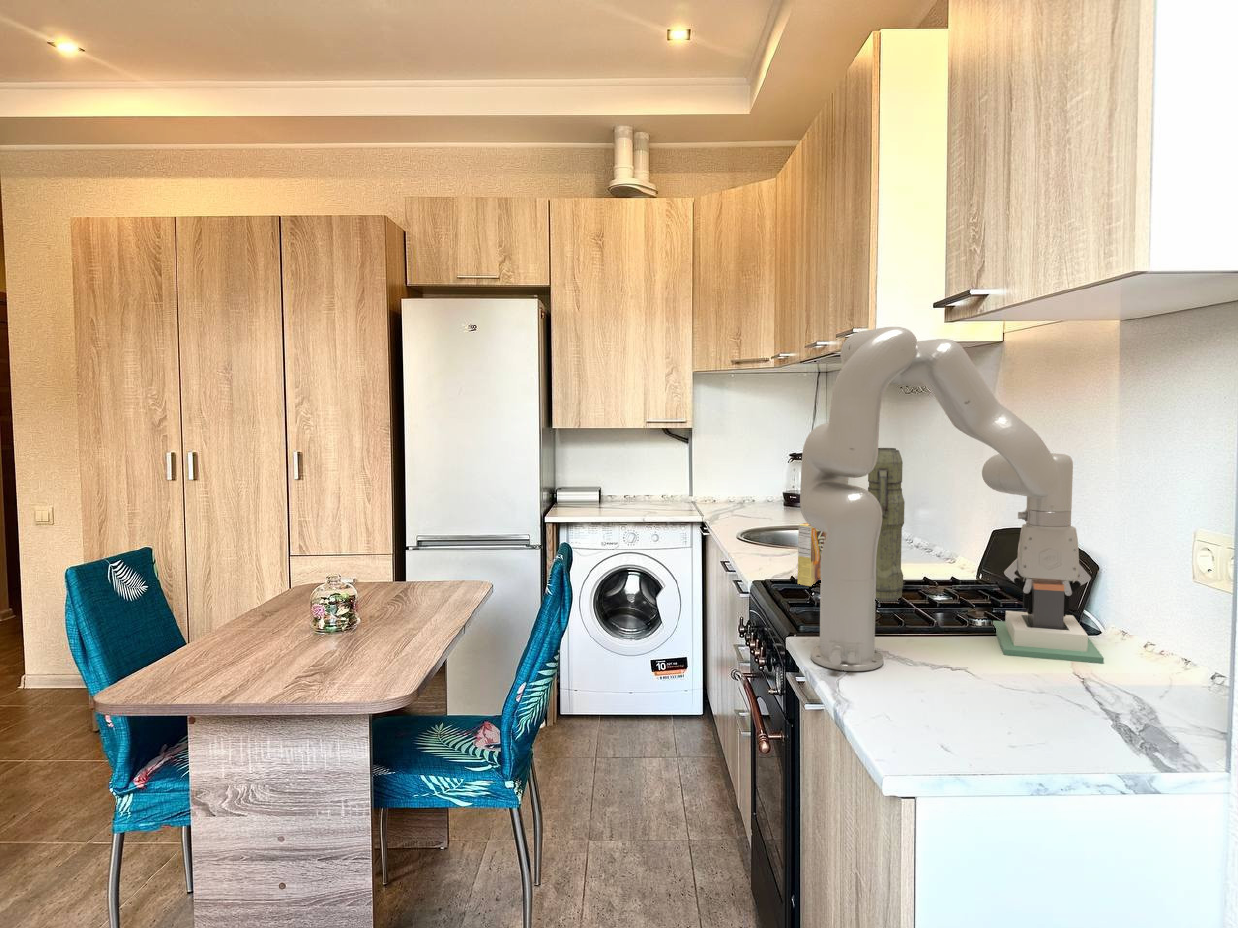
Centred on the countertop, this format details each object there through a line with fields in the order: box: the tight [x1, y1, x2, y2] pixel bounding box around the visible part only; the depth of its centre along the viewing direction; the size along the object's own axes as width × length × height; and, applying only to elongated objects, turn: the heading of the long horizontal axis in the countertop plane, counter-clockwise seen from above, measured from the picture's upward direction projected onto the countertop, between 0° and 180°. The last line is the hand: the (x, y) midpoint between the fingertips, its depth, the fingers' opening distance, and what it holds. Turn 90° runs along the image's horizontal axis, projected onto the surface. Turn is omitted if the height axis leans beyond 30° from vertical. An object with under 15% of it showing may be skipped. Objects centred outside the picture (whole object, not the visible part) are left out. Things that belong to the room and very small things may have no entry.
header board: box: [992, 610, 1105, 664], centre depth 156 cm, size 20×16×4 cm
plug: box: [1028, 580, 1065, 630], centre depth 156 cm, size 7×5×9 cm
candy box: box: [797, 522, 827, 587], centre depth 207 cm, size 9×4×15 cm, turn 137°
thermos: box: [867, 447, 905, 602], centre depth 191 cm, size 9×12×35 cm
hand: (1045, 612), depth 156 cm, fingers closed on plug, 5 cm apart
